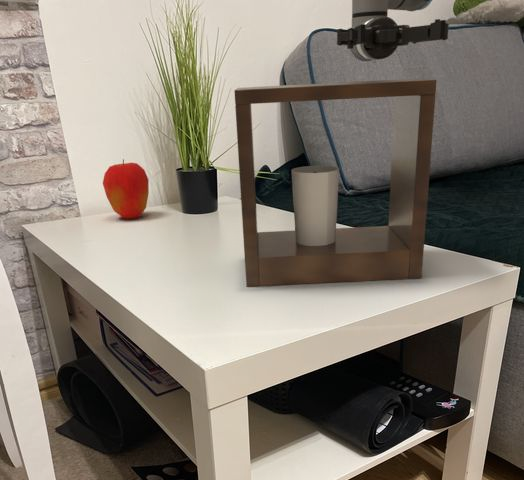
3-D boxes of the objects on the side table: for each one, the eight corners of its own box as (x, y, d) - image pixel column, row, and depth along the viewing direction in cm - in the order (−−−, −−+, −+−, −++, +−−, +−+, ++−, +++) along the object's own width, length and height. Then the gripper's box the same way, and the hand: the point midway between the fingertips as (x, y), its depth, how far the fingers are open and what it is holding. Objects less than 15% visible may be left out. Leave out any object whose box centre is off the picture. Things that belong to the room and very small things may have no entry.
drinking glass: (284, 239, 85) (282, 169, 81) (323, 232, 87) (323, 164, 83) (307, 249, 79) (306, 174, 75) (347, 241, 82) (349, 169, 78)
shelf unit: (398, 250, 91) (408, 79, 81) (421, 278, 79) (436, 79, 68) (247, 257, 91) (237, 87, 81) (246, 286, 79) (234, 90, 68)
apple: (146, 210, 128) (139, 154, 123) (158, 218, 121) (150, 158, 115) (105, 216, 125) (95, 158, 119) (113, 224, 117) (104, 163, 112)
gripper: (437, 56, 118) (473, 52, 99) (316, 62, 118) (329, 59, 99) (440, 14, 115) (478, 1, 96) (316, 21, 115) (329, 9, 96)
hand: (403, 31), depth 98 cm, fingers open, 13 cm apart
